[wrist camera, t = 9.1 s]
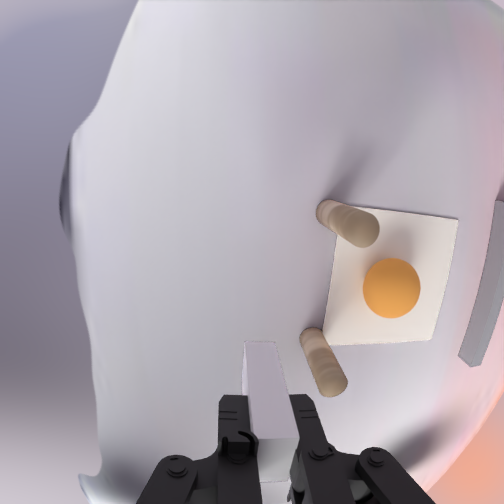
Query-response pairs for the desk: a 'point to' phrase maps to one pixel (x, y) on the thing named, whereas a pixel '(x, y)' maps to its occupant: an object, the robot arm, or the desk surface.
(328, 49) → the desk surface
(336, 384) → the post
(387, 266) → the ball
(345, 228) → the post
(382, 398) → the desk surface
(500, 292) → the stopper wall
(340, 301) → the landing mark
